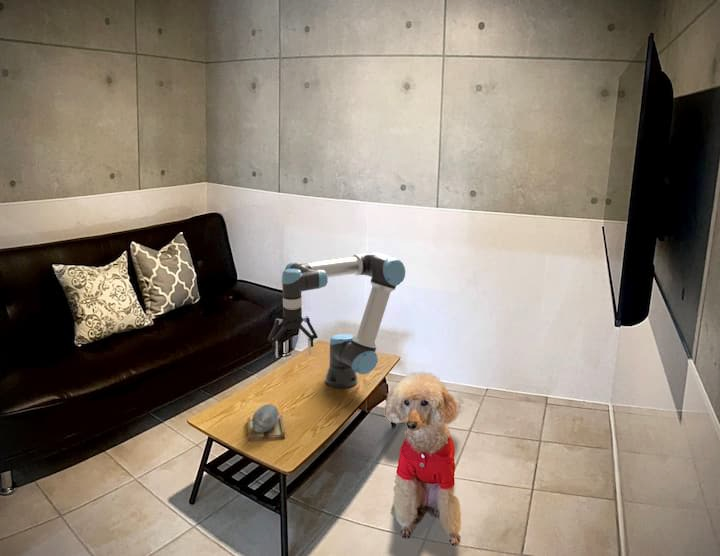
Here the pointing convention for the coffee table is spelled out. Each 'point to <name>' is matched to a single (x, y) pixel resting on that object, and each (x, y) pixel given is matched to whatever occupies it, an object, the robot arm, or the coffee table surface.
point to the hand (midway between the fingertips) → (293, 355)
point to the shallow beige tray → (274, 433)
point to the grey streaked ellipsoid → (265, 418)
